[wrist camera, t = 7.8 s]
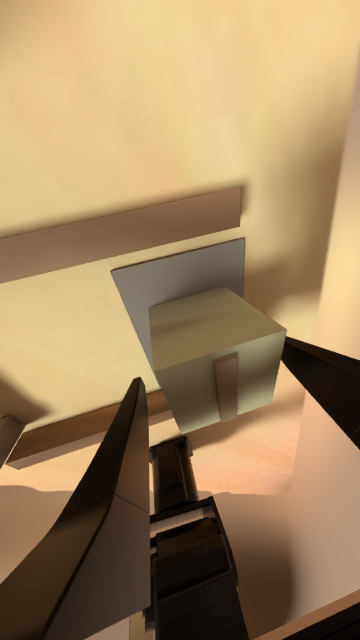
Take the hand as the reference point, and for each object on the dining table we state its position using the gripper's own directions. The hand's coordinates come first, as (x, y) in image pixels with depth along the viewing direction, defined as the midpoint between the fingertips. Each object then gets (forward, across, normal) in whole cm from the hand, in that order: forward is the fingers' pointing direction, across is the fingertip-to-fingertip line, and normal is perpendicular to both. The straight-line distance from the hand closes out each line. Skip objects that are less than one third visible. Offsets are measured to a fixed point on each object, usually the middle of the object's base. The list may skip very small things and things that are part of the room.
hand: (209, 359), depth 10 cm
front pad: (+4, 0, 0) cm, 4 cm away
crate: (+4, 0, 0) cm, 4 cm away
